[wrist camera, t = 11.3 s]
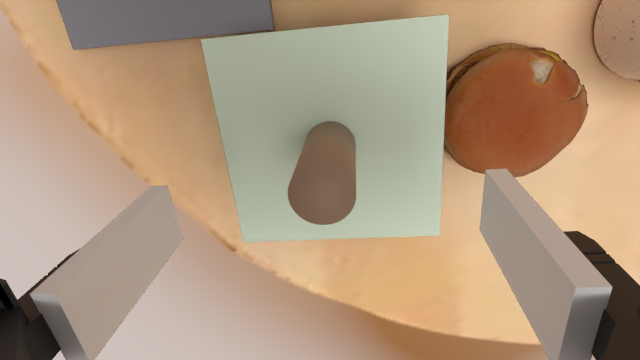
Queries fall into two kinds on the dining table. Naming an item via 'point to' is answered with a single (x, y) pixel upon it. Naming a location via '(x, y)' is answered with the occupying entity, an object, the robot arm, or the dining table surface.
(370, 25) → the lid
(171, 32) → the mat
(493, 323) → the dining table surface
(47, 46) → the dining table surface
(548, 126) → the burger
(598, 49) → the teacup with lid
